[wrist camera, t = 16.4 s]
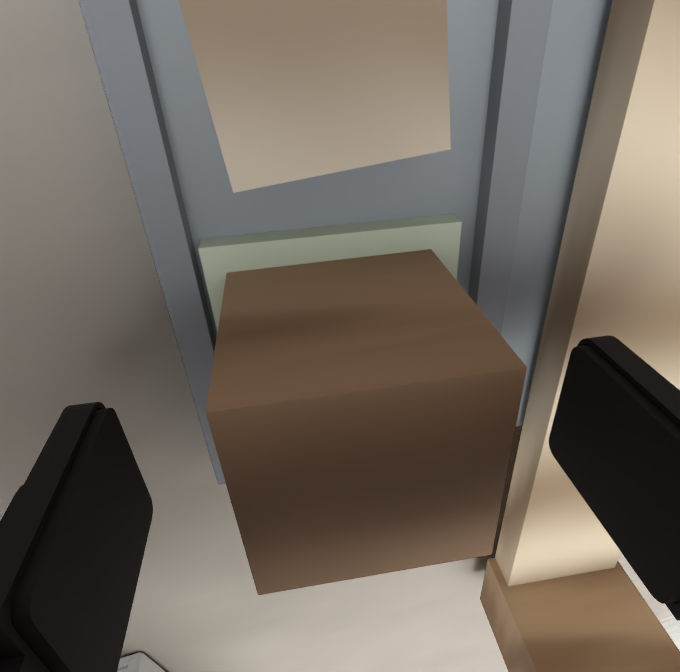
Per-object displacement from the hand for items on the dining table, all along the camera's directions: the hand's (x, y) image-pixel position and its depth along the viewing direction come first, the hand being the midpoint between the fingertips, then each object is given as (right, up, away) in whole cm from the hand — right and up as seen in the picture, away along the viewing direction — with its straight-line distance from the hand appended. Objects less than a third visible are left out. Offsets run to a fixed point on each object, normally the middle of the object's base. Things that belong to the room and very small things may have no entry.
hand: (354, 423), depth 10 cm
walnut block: (0, +2, +2) cm, 3 cm away
